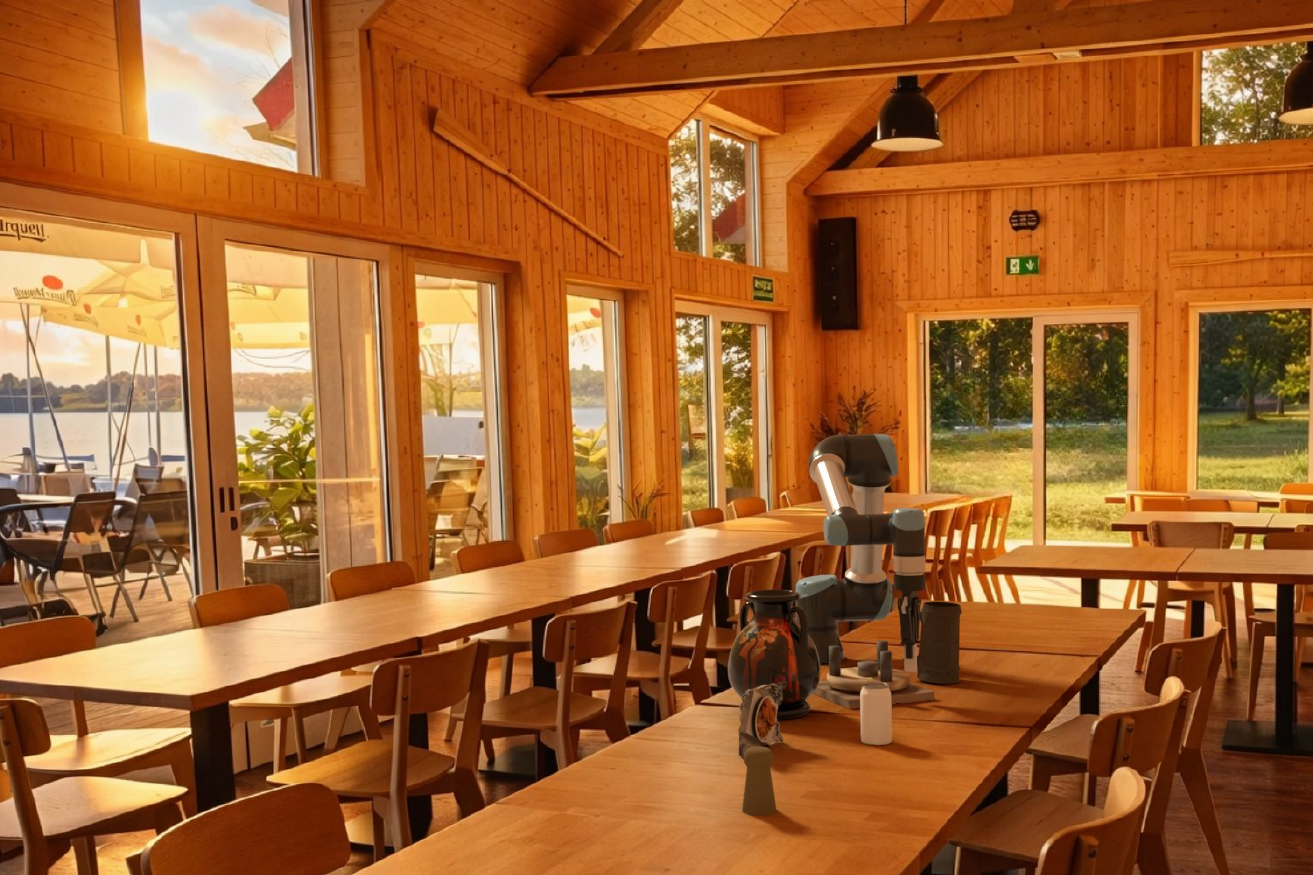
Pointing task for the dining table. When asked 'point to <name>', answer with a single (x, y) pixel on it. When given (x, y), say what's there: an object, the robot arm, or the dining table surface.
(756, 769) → the brown tapered piece
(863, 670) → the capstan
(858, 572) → the robot arm
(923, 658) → the beer stein
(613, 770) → the dining table surface
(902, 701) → the stand
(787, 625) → the amphora vase
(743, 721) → the meal
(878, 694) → the can
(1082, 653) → the dining table surface
